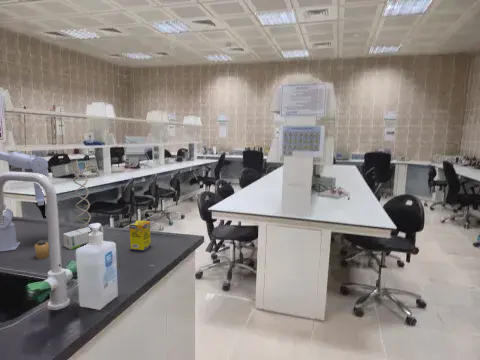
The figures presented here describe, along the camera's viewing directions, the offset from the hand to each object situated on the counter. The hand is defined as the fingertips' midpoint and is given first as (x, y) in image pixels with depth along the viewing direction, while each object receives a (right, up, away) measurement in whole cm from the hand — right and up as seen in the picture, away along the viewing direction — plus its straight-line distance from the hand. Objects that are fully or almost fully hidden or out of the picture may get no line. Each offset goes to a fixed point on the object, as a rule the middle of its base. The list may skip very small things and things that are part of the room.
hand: (46, 217), depth 132 cm
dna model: (+9, -8, +15) cm, 19 cm away
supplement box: (+41, -12, -5) cm, 43 cm away
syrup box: (+12, -9, -6) cm, 16 cm away
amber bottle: (+7, -13, -13) cm, 20 cm away
